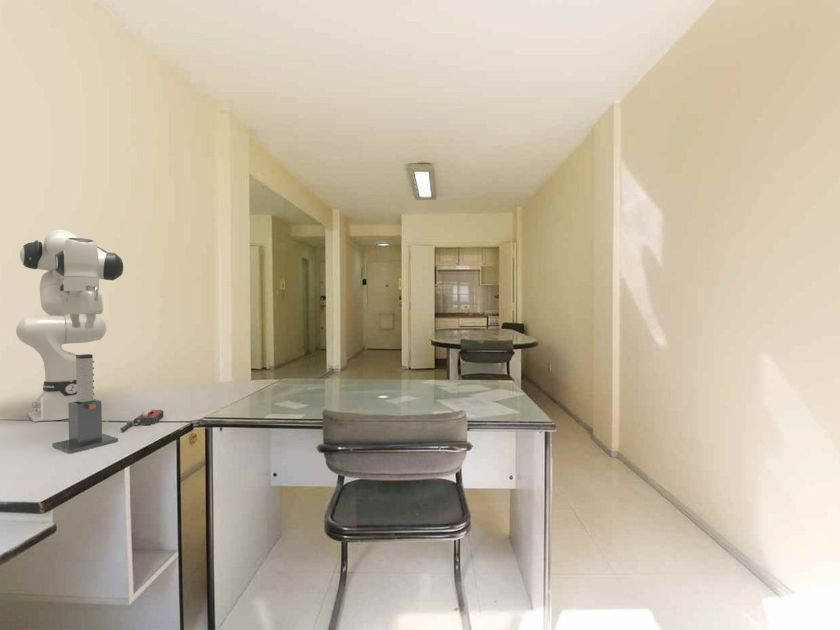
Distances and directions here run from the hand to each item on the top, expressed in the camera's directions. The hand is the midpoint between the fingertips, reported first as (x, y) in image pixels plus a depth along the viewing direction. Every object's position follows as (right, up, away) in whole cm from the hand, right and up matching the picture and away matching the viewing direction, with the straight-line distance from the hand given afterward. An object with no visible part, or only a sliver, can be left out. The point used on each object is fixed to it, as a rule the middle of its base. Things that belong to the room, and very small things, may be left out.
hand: (82, 328), depth 133 cm
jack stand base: (+10, -35, -11) cm, 38 cm away
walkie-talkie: (+12, -36, +11) cm, 39 cm away
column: (+10, -28, -11) cm, 31 cm away
